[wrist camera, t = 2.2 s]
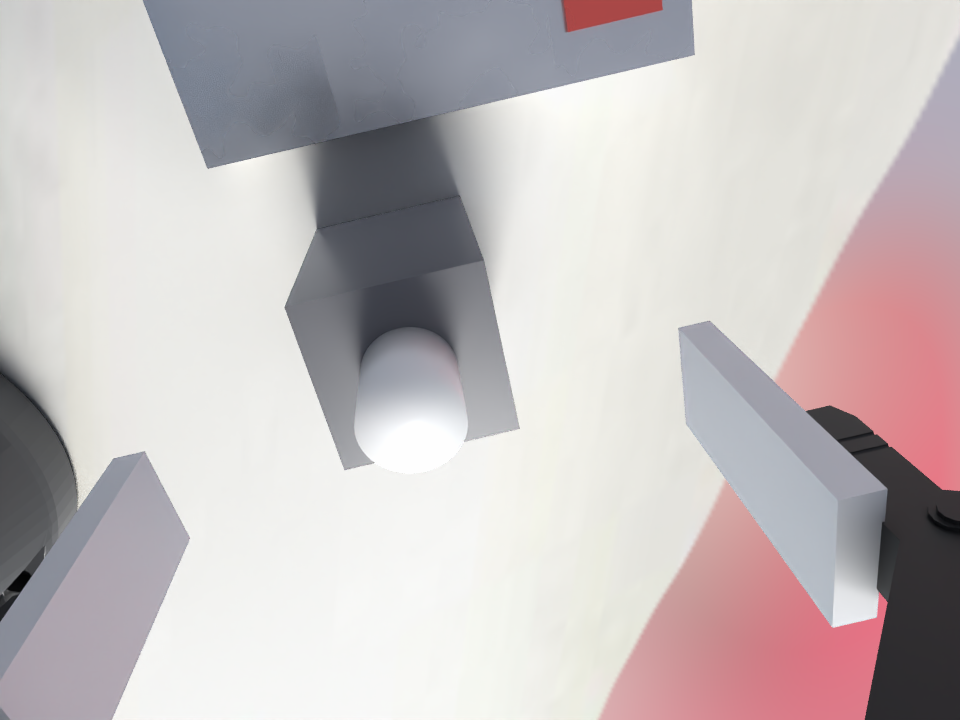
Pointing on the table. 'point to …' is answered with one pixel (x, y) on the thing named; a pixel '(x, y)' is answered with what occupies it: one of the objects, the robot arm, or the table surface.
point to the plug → (402, 337)
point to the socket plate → (388, 60)
